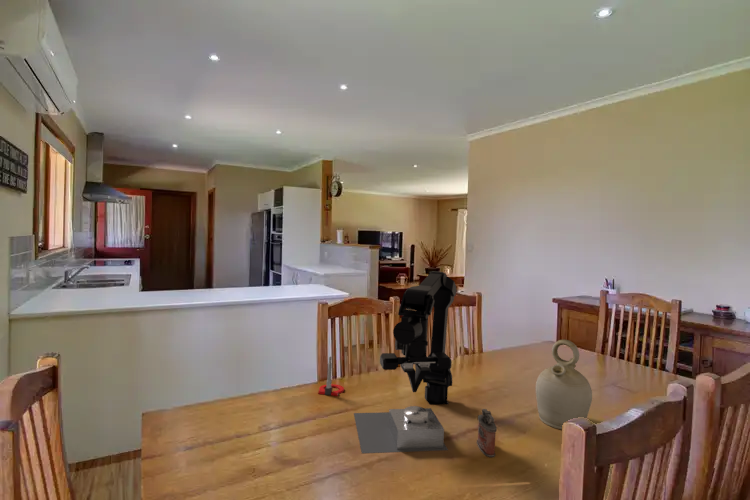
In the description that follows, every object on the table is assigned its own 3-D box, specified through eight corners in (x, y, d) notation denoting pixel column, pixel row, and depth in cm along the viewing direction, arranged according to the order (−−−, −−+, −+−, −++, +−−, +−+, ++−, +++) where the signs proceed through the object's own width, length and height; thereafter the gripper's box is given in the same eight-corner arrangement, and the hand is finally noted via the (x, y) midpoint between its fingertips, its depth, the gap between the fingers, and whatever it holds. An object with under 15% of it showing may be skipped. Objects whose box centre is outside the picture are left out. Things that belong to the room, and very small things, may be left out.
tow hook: (323, 386, 144) (315, 395, 135) (325, 349, 144) (317, 356, 135) (346, 388, 142) (340, 398, 133) (348, 351, 142) (342, 358, 133)
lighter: (474, 442, 108) (476, 405, 108) (486, 442, 108) (488, 405, 108) (484, 459, 100) (486, 419, 100) (498, 459, 100) (500, 419, 100)
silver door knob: (423, 428, 112) (424, 405, 112) (429, 440, 106) (430, 416, 106) (400, 429, 111) (401, 406, 111) (405, 441, 105) (406, 417, 105)
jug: (566, 438, 112) (572, 349, 111) (522, 415, 126) (527, 335, 125) (601, 428, 119) (607, 344, 118) (556, 407, 133) (561, 331, 132)
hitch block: (430, 425, 116) (430, 408, 115) (443, 448, 104) (444, 428, 103) (388, 426, 114) (389, 409, 114) (396, 449, 102) (397, 430, 102)
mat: (425, 412, 125) (425, 411, 125) (448, 451, 103) (448, 450, 103) (353, 414, 122) (353, 413, 121) (361, 454, 100) (361, 453, 100)
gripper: (440, 327, 119) (438, 379, 120) (377, 327, 116) (375, 381, 117) (453, 338, 108) (450, 395, 109) (384, 338, 105) (382, 397, 106)
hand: (414, 391), depth 111 cm, fingers closed
